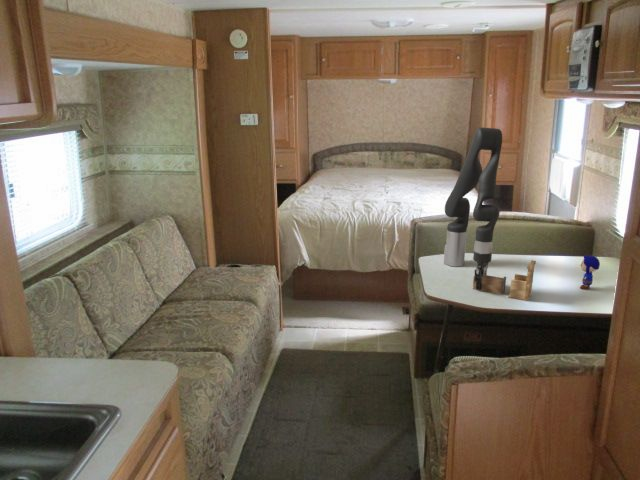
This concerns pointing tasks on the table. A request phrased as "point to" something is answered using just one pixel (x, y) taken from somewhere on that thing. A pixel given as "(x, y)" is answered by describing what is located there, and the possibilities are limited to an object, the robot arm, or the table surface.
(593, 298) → the table surface
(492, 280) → the light brown wooden block
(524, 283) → the wooden chair
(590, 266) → the toy
